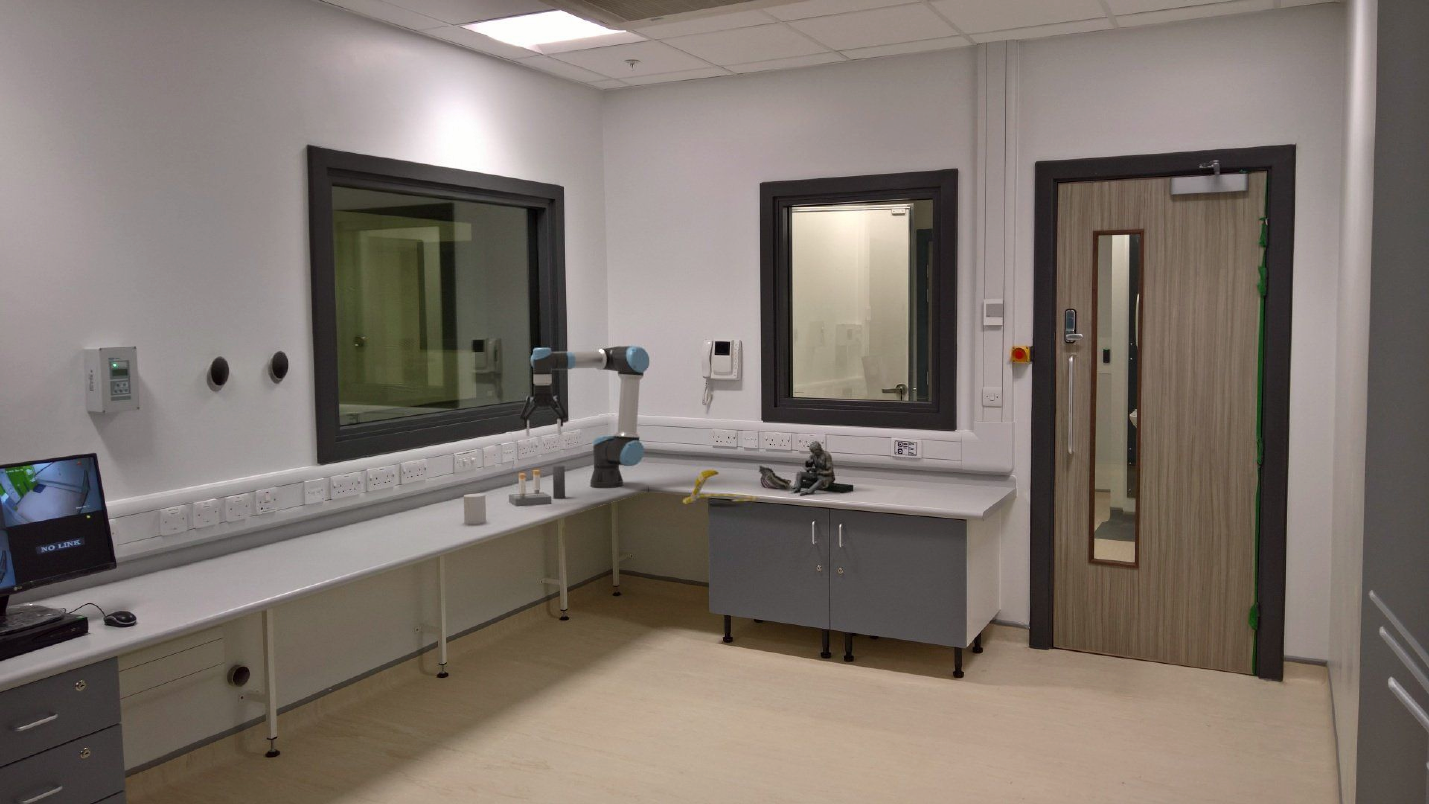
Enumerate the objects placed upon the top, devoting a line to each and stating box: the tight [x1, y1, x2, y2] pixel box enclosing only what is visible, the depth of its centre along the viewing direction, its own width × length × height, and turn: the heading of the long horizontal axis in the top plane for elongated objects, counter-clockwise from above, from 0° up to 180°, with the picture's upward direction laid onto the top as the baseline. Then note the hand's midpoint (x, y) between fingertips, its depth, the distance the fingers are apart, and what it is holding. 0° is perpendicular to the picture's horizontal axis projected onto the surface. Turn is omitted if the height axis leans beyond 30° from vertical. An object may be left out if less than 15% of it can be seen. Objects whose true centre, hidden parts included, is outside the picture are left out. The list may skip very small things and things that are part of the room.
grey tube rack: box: [508, 491, 552, 507], centre depth 424 cm, size 15×13×3 cm
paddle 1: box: [518, 472, 527, 497], centre depth 419 cm, size 2×4×10 cm, turn 23°
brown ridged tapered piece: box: [758, 465, 792, 490], centre depth 454 cm, size 22×9×28 cm
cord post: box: [552, 465, 566, 500], centre depth 434 cm, size 5×5×14 cm
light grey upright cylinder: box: [463, 493, 487, 525], centre depth 387 cm, size 8×8×12 cm
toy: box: [682, 469, 759, 505], centre depth 421 cm, size 29×28×15 cm
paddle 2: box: [532, 469, 541, 493], centre depth 429 cm, size 2×4×10 cm, turn 23°
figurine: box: [788, 440, 854, 497], centre depth 437 cm, size 25×24×24 cm
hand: (543, 435), depth 422 cm, fingers open, 13 cm apart
